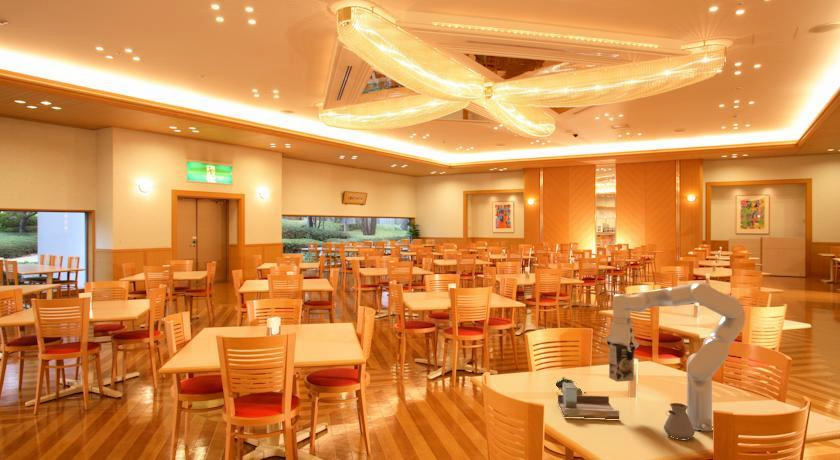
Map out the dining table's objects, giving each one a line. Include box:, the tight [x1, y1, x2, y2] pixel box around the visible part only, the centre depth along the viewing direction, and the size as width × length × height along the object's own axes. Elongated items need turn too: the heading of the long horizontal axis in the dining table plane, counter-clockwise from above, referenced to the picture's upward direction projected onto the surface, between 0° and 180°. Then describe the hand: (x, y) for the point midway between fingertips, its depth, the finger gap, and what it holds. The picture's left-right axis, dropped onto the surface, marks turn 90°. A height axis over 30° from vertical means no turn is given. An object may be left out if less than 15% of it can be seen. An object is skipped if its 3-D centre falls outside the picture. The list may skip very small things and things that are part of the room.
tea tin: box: [562, 382, 577, 409], centre depth 234 cm, size 8×5×10 cm, turn 174°
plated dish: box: [555, 376, 583, 395], centre depth 265 cm, size 35×28×7 cm
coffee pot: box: [663, 402, 696, 440], centre depth 202 cm, size 21×12×15 cm, turn 139°
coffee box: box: [608, 344, 635, 382], centre depth 231 cm, size 9×6×16 cm
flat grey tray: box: [557, 394, 620, 420], centre depth 233 cm, size 18×24×5 cm
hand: (621, 357), depth 231 cm, fingers closed on coffee box, 8 cm apart
